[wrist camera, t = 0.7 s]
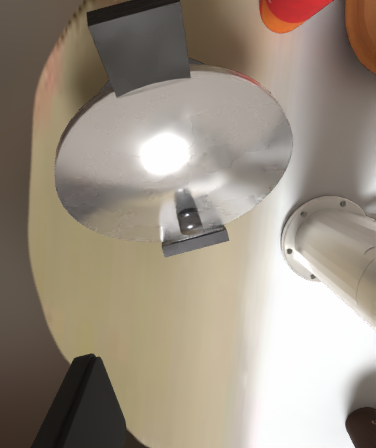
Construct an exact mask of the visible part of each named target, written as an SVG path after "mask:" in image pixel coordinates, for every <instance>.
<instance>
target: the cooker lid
mask: <svg viewBox="0 0 376 448" xmlns="http://www.w3.org/2000/svg"><path fill="white" fill-rule="evenodd" d="M87 22H88V28H89V30H90V33H91V35H92V38H93V40H94V43H95V45H96V48H97V50H98V53H99V55H100V58H101V60H102V63H103V65H104V67H105V70H106V72H107V75H108V77H109V80H110V82H111V86H109V87H108V88H106V89H105V90H103V91H102V92H100V93H99V94H97V95H96V96H94V97H93V98H92V99H91V100H89V101H88V102H87V103H86V104H85V105H84V106H83V107H82V108H80V109H79V111H78V112H77V113H76V114H75V115H74V117H73V118H72V119H71V120H70V121H69V123H68V125H67V126H66V128H65V130H64V131H63V133H62V135H61V137H60V140H59V143H58V146H57V149H56V155H55V187H56V191H57V194H58V197H59V199H60V201H61V203H62V205H63V207H64V208H65V209H66V210H67V212H68V213H69V214H70V215H71V216H72V217H73V218H74V219H75V220H77V221H78V222H79V223H81V224H82V225H84V226H85V227H87V228H89V229H91V230H93V231H95V232H97V233H100V234H102V235H105V236H109V237H112V238H116V239H121V240H127V241H137V242H160V241H164V243H165V245H166V244H170V243H173V242H177V241H181V240H185V239H189V238H192V237H196V236H200V235H204V234H208V233H211V232H215V231H219V230H222V226H223V225H225V224H227V223H229V222H231V221H233V220H235V219H237V218H238V217H240V216H242V215H243V214H245V213H246V212H248V211H249V210H251V209H252V208H253V207H255V206H256V205H257V204H258V203H259V202H261V201H262V200H263V199H264V198H265V197H266V196H267V195H268V194H269V193H270V192H271V191H272V190H273V188H274V187H275V186H276V185H277V184H278V182H279V181H280V179H281V177H282V176H283V174H284V172H285V170H286V168H287V166H288V163H289V160H290V157H291V153H292V146H293V142H292V132H291V128H290V124H289V122H288V120H287V118H286V116H285V114H284V112H283V110H282V109H281V107H280V105H279V103H278V102H277V100H276V99H275V98H274V97H273V95H272V94H271V93H270V92H269V91H268V90H267V89H266V88H265V87H263V86H262V85H261V84H260V83H259V82H257V81H255V80H253V79H252V78H250V77H248V76H246V75H244V74H241V73H239V72H236V71H233V70H230V69H226V68H222V67H217V66H212V65H196V64H189V61H188V54H187V46H186V39H185V32H184V25H183V18H182V11H181V4H180V0H131V1H127V2H123V3H120V4H116V5H112V6H109V7H105V8H101V9H98V10H94V11H90V12H87Z"/></svg>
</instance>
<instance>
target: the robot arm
mask: <svg viewBox="0 0 376 448" xmlns="http://www.w3.org/2000/svg"><path fill="white" fill-rule="evenodd" d="M340 202H341V203H340ZM301 212H302V214H301ZM281 247H282V253H283V256H284V259H285V261H286V262H287V264H288V266H289V267H290V268H291V269H292V270H293V271H294V272H295V273H296V274H298V275H299V276H301V277H303V278H304V279H307V280H310V281H315V282H322V283H323V284H325V285H326V286H327V287H328V288H329V289H330V290H331V291H332V292H333V293H334V294H336V295H337V296H338V297H339V298H340V299H341V300H342V301H343V302H344V303H345V304H347V305H348V306H349V307H350V308H351V309H352V310H353V311H354V312H355V313H357V314H358V315H359V316H360V317H361V318H362V319H363V320H364V321H365V322H366V323H367V324H369V325H370V326H371V327H372V328H373V329H374V330H375V331H376V220H375V219H373V218H370V217H367V216H366V214H365V212H364V211H363V210H362V209H361V208H360V207H359V206H358V205H357V204H355V203H354V202H352V201H350V200H348V199H345V198H342V197H337V196H322V197H319V198H315V199H312V200H310V201H308V202H306V203H305V204H303V205H302V206H300V207H299V208H298V209H297V210H296V211H295V212H294V213H293V214H292V215H291V217H290V218H289V220H288V221H287V223H286V225H285V227H284V230H283V234H282V241H281ZM287 249H289V250H287ZM125 436H126V422H125V418H124V416H123V413H122V411H121V408H120V405H119V403H118V400H117V398H116V395H115V392H114V390H113V387H112V385H111V382H110V379H109V377H108V374H107V372H106V369H105V366H104V364H103V361H102V359H101V358H100V357H96V356H95V355H94V354H88V355H84V356H79V357H76V358H74V360H73V361H72V364H71V366H70V368H69V370H68V372H67V374H66V376H65V378H64V380H63V382H62V384H61V386H60V389H59V391H58V393H57V395H56V397H55V399H54V401H53V403H52V405H51V407H50V409H49V411H48V413H47V415H46V417H45V419H44V421H43V424H42V425H41V428H40V430H39V432H38V434H37V436H36V438H35V440H34V442H33V444H32V446H31V448H123V447H124V441H125Z"/></svg>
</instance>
